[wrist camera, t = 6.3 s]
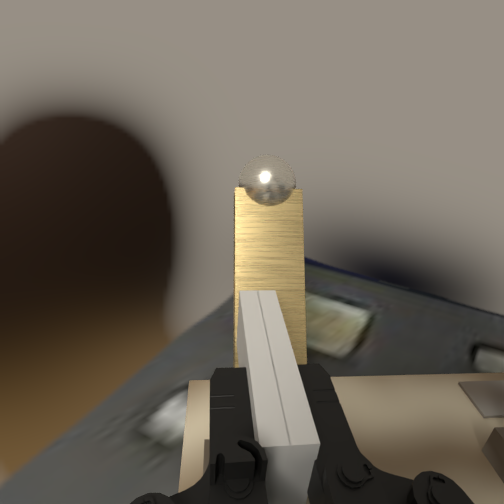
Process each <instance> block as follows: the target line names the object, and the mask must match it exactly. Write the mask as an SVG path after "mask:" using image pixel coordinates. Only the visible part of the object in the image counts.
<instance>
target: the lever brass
mask: <svg viewBox="0 0 504 504" xmlns="http://www.w3.org/2000/svg"><path fill="white" fill-rule="evenodd" d="M295 188H296V179H295V175H294V173H293V170H292V168H291V167H290V166H289V164H288V163H287V162H285V161H284V160H283V159H281V158H279V157H277V156H273V155H262V156H258V157H256V158H254V159H252V160H251V161H249V162H248V163H247V164H246V165H245V167H244V168H243V170H242V172H241V174H240V177H239V187H235V192H234V357H233V368H237V367H239V363H238V353H237V325H238V307H239V291H249V290H275V291H276V295H277V298H278V301H279V305H280V308H281V312H282V315H283V318H284V322H285V325H286V329H287V332H288V335H289V339H290V342H291V346H292V349H293V352H294V356H295V359H296V363H297V365H300V364H307V349H306V312H305V274H304V240H303V239H304V238H303V203H302V202H303V199H302V189H295Z"/></svg>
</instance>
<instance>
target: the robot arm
mask: <svg viewBox="0 0 504 504" xmlns="http://www.w3.org/2000/svg"><path fill="white" fill-rule="evenodd" d="M237 353H238V363H239V367H237V368H216V370H215V372H214V374H213V376H212V378H211V380H210V423H209V464H208V466H207V469H206V471H205V473H204V474H203V476H202V477H201V479H200V480H199V481H198V482H197V483H195V484H194V485H193V486H191V487H190V488H188V489H186V490H184V491H182V492H179V493H177V494H175V495H173V496H170V497H168V496H166V495H163V494H161V493H147V494H145V495H143V496H140V497H138V498H136V499H135V500H134V501H133V502H131V503H130V504H306V501H307V497H308V498H309V503H310V504H474V503H473V501H472V500H471V499H470V498H469V497H468V495H467V494H466V493H465V492H464V491H463V489H462V488H461V487H459V486H458V485H457V484H456V483H455V482H454V481H453V480H452V479H450V478H448V477H447V476H445V475H443V474H442V473H438V472H434V471H424V472H421V473H420V474H418V475H417V476H416V477H415V478H414V480H412V479H409V478H405V477H401V476H397V475H394V474H390V473H387V472H384V471H382V470H380V469H378V468H376V467H375V466H373V465H372V463H371V462H370V461H369V460H368V459H367V458H366V457H365V456H364V455H362V454H361V452H360V451H359V449H358V447H357V445H356V442H355V439H354V437H353V434H352V432H351V429H350V427H349V424H348V421H347V419H346V416H345V414H344V411H343V409H342V406H341V404H340V403H339V398H338V396H337V393H336V392H335V388H334V386H333V383H332V380H331V378H330V375H329V374H328V373H327V372H326V371H325V370H324V369H323V368H322V366H321V365H320V364H300V365H297V363H296V359H295V356H294V352H293V349H292V346H291V342H290V339H289V335H288V332H287V329H286V325H285V322H284V318H283V315H282V312H281V308H280V305H279V301H278V298H277V295H276V291H275V290H249V291H239V307H238V325H237Z"/></svg>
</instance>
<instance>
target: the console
mask: <svg viewBox="0 0 504 504" xmlns="http://www.w3.org/2000/svg"><path fill="white" fill-rule="evenodd" d="M330 378H331V380H332V383H333V386H334V388H335V392H336V393H337V396H338V398H339V403H340V404H341V406H342V409H343V411H344V414H345V416H346V419H347V421H348V424H349V427H350V429H351V432H352V434H353V437H354V439H355V442H356V445H357V447H358V449H359V451H360V452H361V454H362V455H364V456H365V457H366V458H367V459H368V460H369V461H370V462H371V463H372V465H373V466H375V467H376V468H378V469H380V470H382V471H384V472H387V473H390V474H394V475H397V476H401V477H405V478H409V479H412V480H414V478H415V477H416V476H417V475H418V474H420V473H421V472H424V471H434V472H438V473H442V474H443V475H445V476H447V477H448V478H450V479H452V480H453V481H454V482H455V483H456V484H457V485H458V486H459V487H461V488H462V489H463V491H464V492H465V493H466V494H467V495H468V497H469V498H470V499H471V500H472V501H473V503H474V504H504V373H468V374H429V375H389V376H350V377H330ZM209 423H210V380H193V381H189V389H188V400H187V410H186V420H185V430H184V441H183V451H182V461H181V471H180V481H179V492H182V491H184V490H186V489H188V488H190V487H191V486H193V485H194V484H195V483H197V482H198V481H199V480H200V479H201V477H202V476H203V474H204V473H205V471H206V469H207V466H208V464H209ZM179 492H178V493H179ZM306 504H310V503H309V498H308V497H307V501H306Z"/></svg>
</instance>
